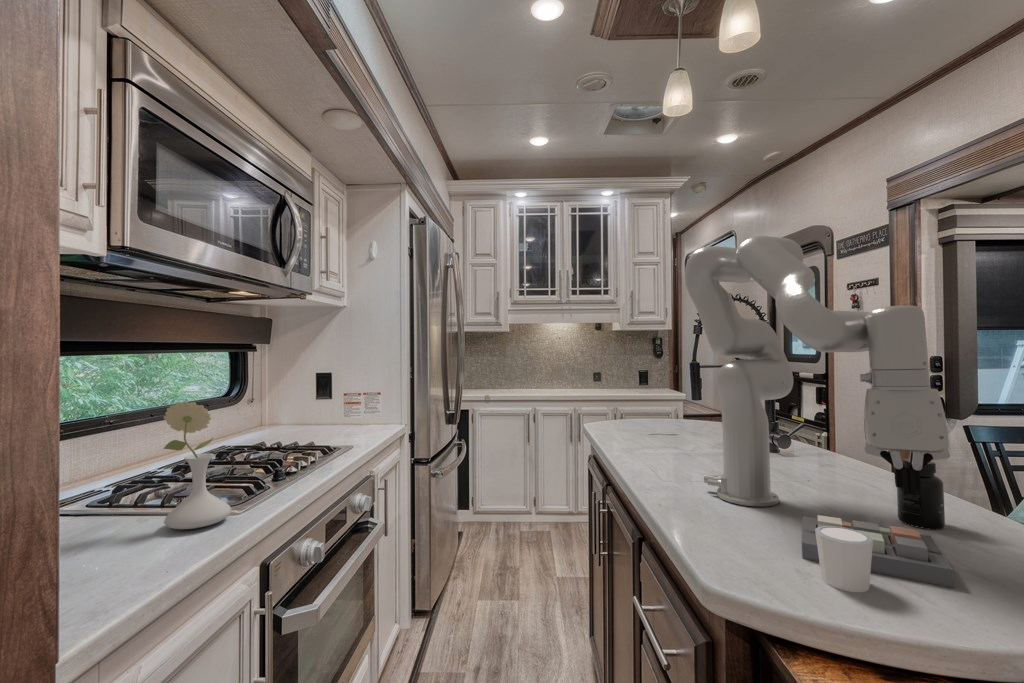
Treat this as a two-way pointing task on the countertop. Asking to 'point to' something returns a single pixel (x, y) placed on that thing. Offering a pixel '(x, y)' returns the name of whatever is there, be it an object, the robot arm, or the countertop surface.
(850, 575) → the white oval cup
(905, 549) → the keypad
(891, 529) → the key terracotta
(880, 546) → the key sage
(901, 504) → the supplement bottle
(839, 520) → the key cream
